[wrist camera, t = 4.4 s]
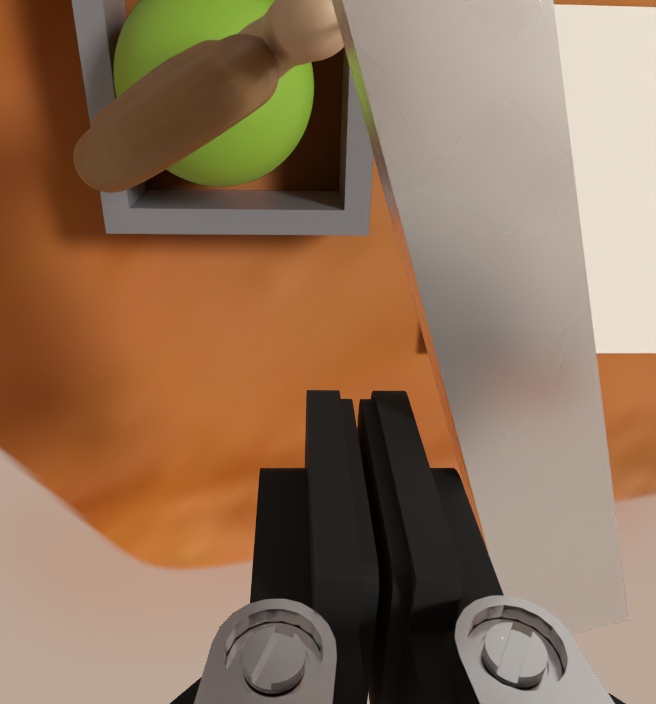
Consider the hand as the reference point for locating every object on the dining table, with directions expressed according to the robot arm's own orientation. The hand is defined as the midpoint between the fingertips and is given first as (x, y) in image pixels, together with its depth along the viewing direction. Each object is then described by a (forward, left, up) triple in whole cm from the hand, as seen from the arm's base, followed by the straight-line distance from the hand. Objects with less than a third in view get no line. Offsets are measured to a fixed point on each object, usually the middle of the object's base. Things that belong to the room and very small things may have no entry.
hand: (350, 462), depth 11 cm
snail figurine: (-5, -3, -13) cm, 15 cm away
